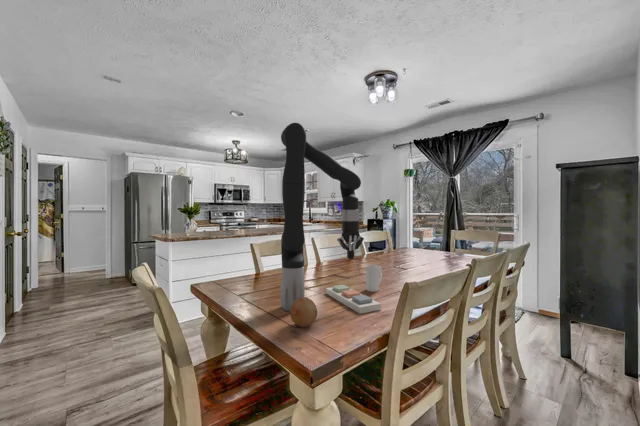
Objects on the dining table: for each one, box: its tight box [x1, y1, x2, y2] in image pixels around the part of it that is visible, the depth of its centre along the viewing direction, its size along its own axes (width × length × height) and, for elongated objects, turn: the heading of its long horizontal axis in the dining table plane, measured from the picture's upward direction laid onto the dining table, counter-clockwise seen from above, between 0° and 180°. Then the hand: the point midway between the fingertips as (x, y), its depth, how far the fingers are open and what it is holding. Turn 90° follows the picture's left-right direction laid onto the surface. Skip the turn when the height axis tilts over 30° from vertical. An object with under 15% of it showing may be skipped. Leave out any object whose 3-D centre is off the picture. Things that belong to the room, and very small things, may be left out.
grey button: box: [352, 294, 373, 305], centre depth 123 cm, size 6×6×2 cm
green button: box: [332, 284, 351, 293], centre depth 139 cm, size 6×6×2 cm
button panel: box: [325, 286, 382, 315], centre depth 131 cm, size 10×30×2 cm, turn 25°
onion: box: [289, 296, 318, 328], centre depth 104 cm, size 10×10×10 cm
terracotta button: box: [342, 288, 361, 298], centre depth 131 cm, size 6×6×2 cm
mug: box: [365, 264, 383, 293], centre depth 148 cm, size 10×7×12 cm, turn 122°
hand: (350, 259), depth 131 cm, fingers closed
